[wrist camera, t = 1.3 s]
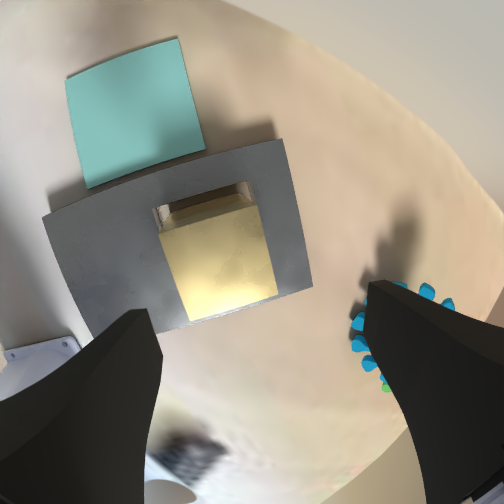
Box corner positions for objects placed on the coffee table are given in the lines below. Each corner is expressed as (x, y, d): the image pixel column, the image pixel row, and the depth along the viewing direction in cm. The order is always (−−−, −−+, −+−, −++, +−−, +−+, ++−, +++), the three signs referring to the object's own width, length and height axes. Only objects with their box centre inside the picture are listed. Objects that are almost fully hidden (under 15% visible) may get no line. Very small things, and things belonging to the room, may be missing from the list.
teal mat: (89, 188, 16) (87, 189, 16) (66, 82, 13) (64, 80, 13) (205, 149, 17) (205, 148, 17) (178, 40, 14) (177, 38, 14)
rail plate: (103, 337, 19) (99, 347, 18) (51, 213, 16) (41, 217, 15) (305, 279, 21) (313, 286, 19) (275, 140, 18) (282, 138, 16)
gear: (367, 269, 20) (484, 312, 15) (381, 247, 24) (476, 282, 19) (331, 374, 24) (423, 411, 19) (350, 341, 29) (430, 372, 24)
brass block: (190, 276, 19) (190, 321, 14) (169, 213, 18) (158, 234, 12) (254, 257, 20) (278, 294, 14) (237, 192, 18) (257, 205, 13)
